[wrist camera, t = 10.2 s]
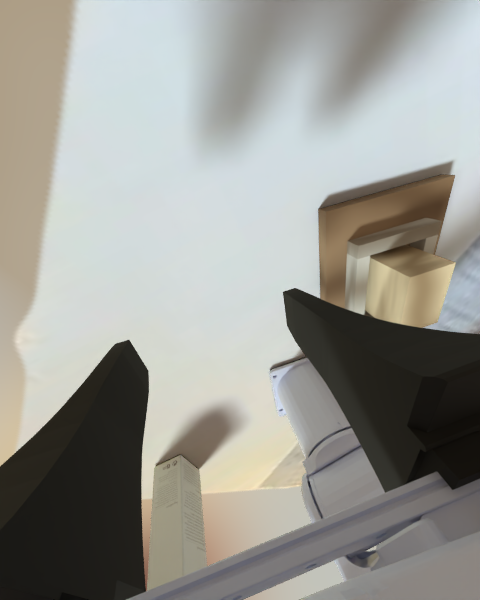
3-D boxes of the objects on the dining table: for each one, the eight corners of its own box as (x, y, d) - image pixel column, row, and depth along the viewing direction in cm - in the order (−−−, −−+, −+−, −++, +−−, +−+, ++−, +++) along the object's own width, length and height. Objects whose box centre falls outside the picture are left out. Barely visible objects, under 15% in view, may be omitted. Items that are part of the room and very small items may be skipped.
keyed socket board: (409, 315, 30) (429, 328, 28) (321, 345, 29) (334, 361, 26) (441, 174, 21) (475, 176, 19) (318, 209, 20) (337, 215, 18)
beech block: (403, 243, 23) (455, 262, 18) (394, 296, 26) (437, 322, 22) (365, 255, 22) (410, 277, 18) (361, 307, 26) (398, 335, 21)
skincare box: (153, 466, 33) (144, 600, 23) (180, 453, 33) (184, 581, 23) (175, 481, 36) (175, 604, 26) (200, 469, 36) (210, 587, 26)
